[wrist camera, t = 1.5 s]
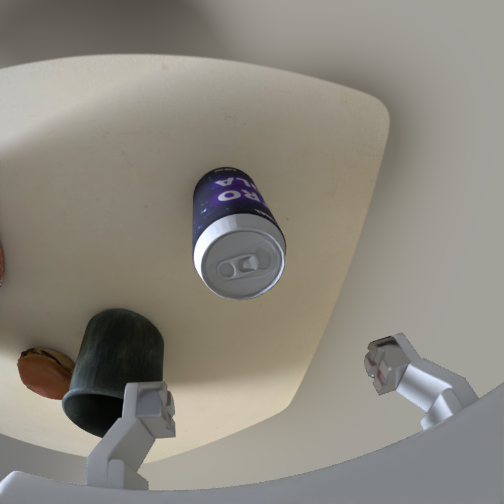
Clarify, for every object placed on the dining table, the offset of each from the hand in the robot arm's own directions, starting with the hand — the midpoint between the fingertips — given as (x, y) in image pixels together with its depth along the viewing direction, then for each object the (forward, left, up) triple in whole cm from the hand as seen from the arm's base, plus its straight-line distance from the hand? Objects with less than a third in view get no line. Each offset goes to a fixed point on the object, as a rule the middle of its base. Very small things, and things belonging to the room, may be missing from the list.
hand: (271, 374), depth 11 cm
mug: (+23, +2, -20) cm, 30 cm away
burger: (+35, -6, -20) cm, 41 cm away
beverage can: (0, 0, -20) cm, 20 cm away
